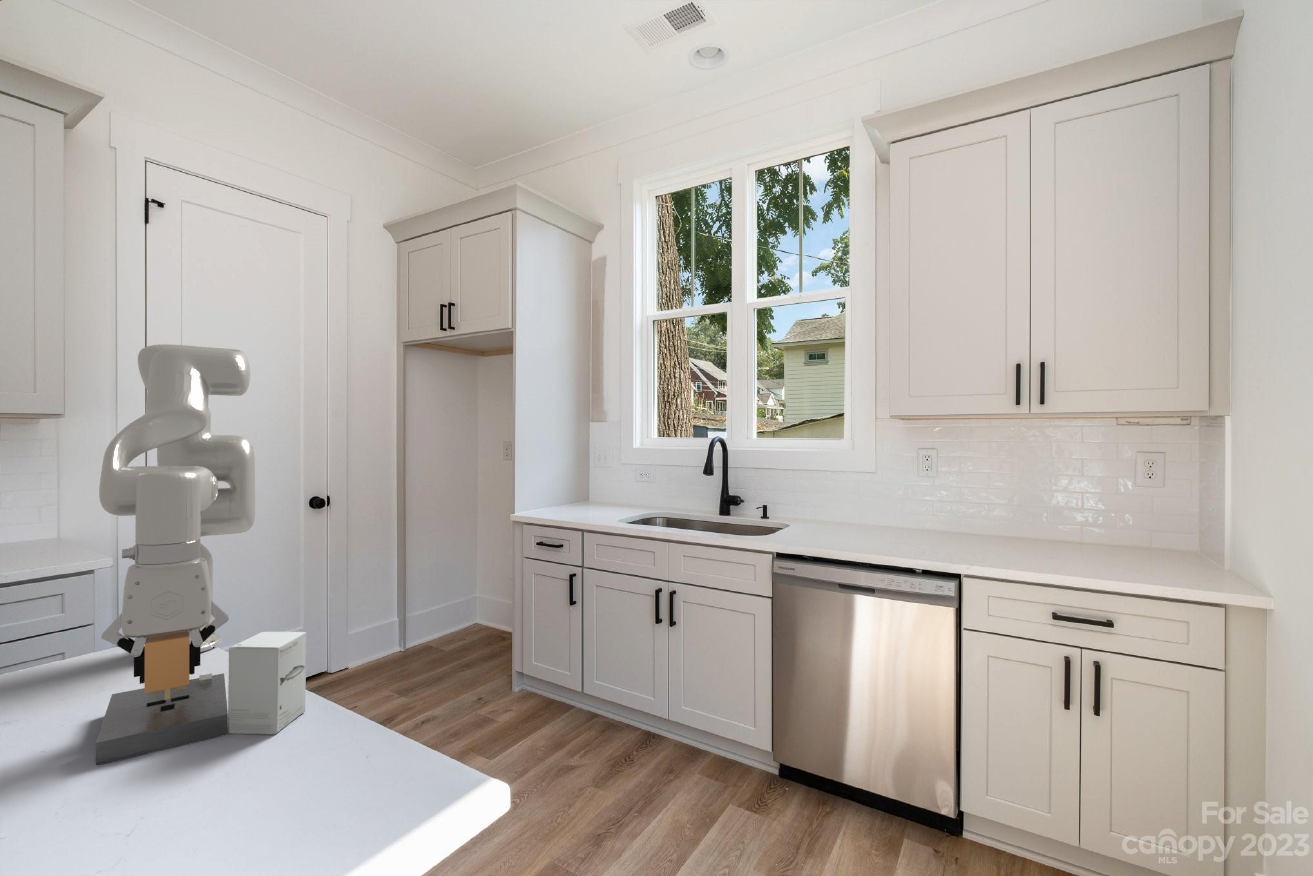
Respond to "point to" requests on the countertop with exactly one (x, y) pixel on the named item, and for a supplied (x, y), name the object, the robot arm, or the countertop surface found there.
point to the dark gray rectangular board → (162, 719)
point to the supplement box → (266, 682)
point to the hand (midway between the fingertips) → (168, 674)
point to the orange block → (167, 662)
